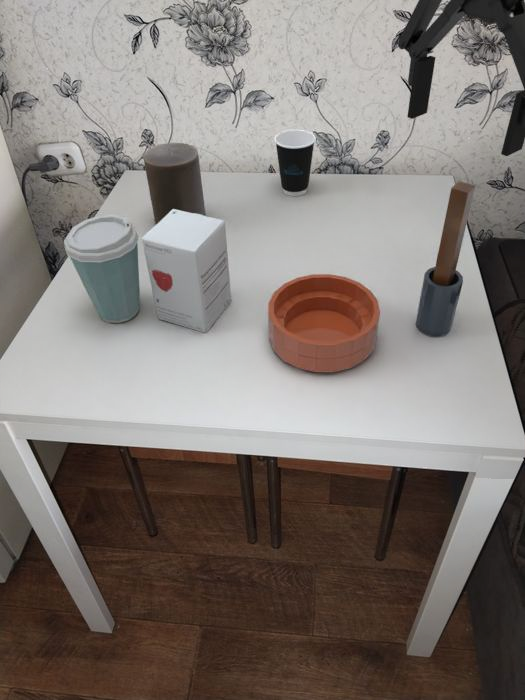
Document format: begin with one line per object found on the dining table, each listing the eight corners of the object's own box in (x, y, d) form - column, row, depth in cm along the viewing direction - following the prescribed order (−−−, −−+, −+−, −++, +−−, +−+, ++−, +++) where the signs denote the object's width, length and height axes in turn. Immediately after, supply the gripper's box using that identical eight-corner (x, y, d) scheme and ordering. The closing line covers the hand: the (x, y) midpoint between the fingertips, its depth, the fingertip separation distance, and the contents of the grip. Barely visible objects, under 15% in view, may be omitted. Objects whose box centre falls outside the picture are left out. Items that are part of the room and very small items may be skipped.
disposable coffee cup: (83, 336, 90) (56, 253, 79) (87, 293, 97) (63, 213, 87) (153, 327, 91) (135, 244, 80) (152, 285, 98) (135, 205, 88)
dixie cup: (302, 177, 124) (302, 125, 116) (321, 193, 118) (323, 140, 111) (268, 187, 121) (266, 134, 114) (287, 204, 116) (286, 150, 108)
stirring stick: (444, 320, 88) (475, 185, 73) (437, 328, 87) (468, 192, 72) (430, 314, 89) (458, 180, 74) (424, 322, 88) (451, 187, 73)
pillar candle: (173, 242, 108) (160, 164, 97) (146, 220, 113) (131, 145, 103) (216, 223, 112) (208, 147, 101) (188, 203, 117) (178, 129, 107)
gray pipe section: (457, 322, 89) (469, 274, 83) (441, 342, 86) (453, 293, 80) (425, 309, 91) (435, 261, 85) (409, 328, 88) (418, 280, 82)
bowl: (394, 329, 88) (399, 298, 84) (338, 392, 79) (341, 361, 75) (308, 292, 95) (309, 262, 91) (248, 346, 87) (246, 315, 82)
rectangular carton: (155, 319, 92) (138, 237, 82) (185, 287, 98) (172, 206, 87) (206, 334, 89) (195, 251, 79) (233, 300, 95) (226, 218, 84)
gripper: (379, -100, 60) (362, 109, 75) (615, -74, 45) (536, 181, 60) (429, -108, 63) (403, 94, 78) (664, -87, 48) (578, 158, 63)
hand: (461, 132), depth 69 cm, fingers open, 13 cm apart
